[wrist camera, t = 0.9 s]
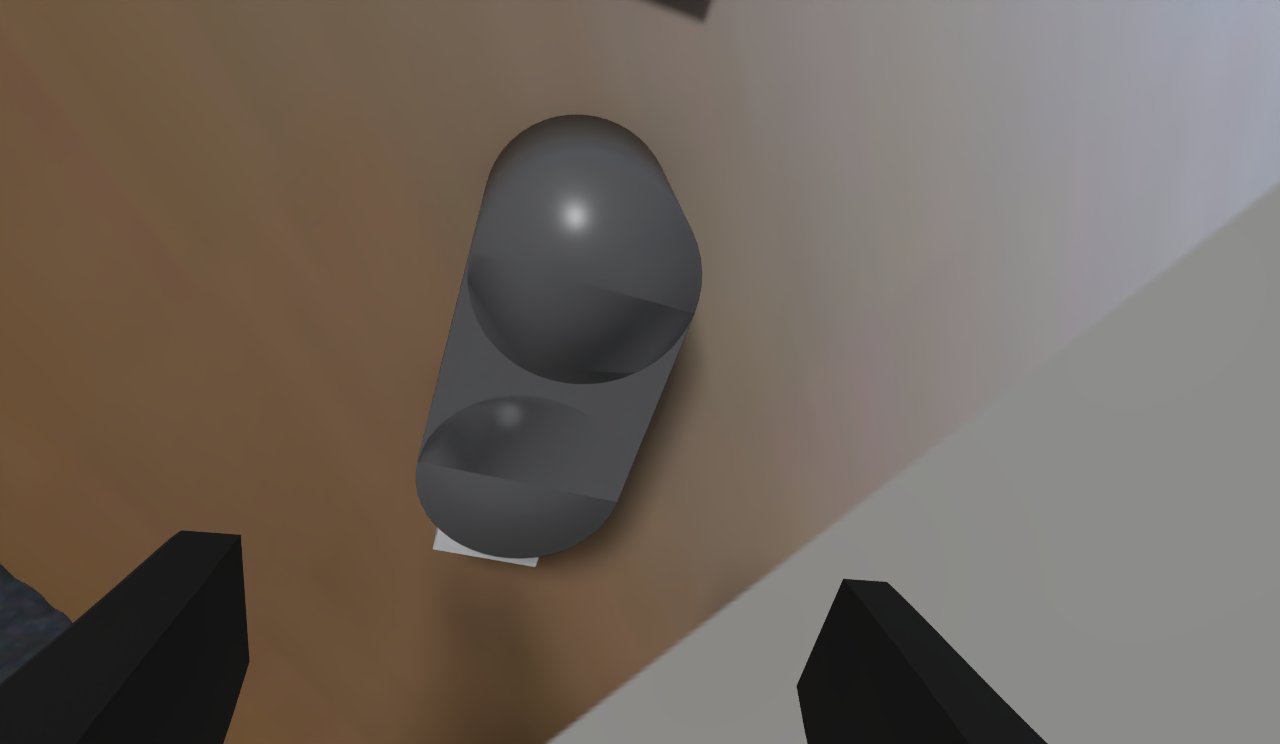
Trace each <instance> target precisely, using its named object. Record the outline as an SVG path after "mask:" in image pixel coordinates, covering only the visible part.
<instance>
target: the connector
mask: <svg viewBox="0 0 1280 744" xmlns="http://www.w3.org/2000/svg"><path fill="white" fill-rule="evenodd" d="M701 284H702V266H701V257H700V253H699V249H698V245H697V242H696V239H695V237H694V234H693V232H692V230H691V228H690V225H689V223H688V221H687V219H686V217H685V215H684V213H683V211H682V209H681V207H680V205H679V203H678V201H677V199H676V196H675V194H674V192H673V190H672V188H671V186H670V184H669V182H668V180H667V178H666V176H665V174H664V172H663V170H662V167H661V166H660V164H659V162H658V160H657V159H656V157H655V156H654V154H653V153H652V152H651V150H650V149H649V148H648V146H647V145H646V144H645V143H644V142H643V141H642V140H641V139H640V138H638V137H637V136H636V135H635V134H633V133H632V132H631V131H629V130H628V129H626V128H624V127H622V126H621V125H619V124H617V123H614V122H612V121H609V120H607V119H603V118H599V117H595V116H588V115H565V116H558V117H554V118H550V119H547V120H543V121H541V122H539V123H537V124H534V125H532V126H530V127H529V128H527V129H526V130H524V131H523V132H521V133H520V134H519V135H517V136H516V137H515V138H514V139H513V140H511V141H510V143H509V144H508V145H507V146H506V147H505V148H504V149H503V150H502V152H501V153H500V155H499V156H498V158H497V159H496V161H495V163H494V165H493V167H492V169H491V171H490V174H489V177H488V180H487V183H486V187H485V191H484V195H483V199H482V203H481V207H480V211H479V215H478V219H477V223H476V227H475V231H474V235H473V239H472V243H471V247H470V251H469V255H468V259H467V263H466V267H465V271H464V275H463V279H462V283H461V287H460V291H459V295H458V299H457V303H456V307H455V311H454V315H453V319H452V323H451V327H450V331H449V335H448V339H447V343H446V347H445V351H444V355H443V359H442V363H441V368H440V372H439V376H438V380H437V384H436V388H435V392H434V396H433V400H432V405H431V409H430V413H429V417H428V421H427V425H426V429H425V433H424V437H423V441H422V446H421V450H420V454H419V458H418V462H417V468H416V487H417V492H418V496H419V499H420V502H421V505H422V506H423V508H424V510H425V512H426V514H427V515H428V517H429V518H430V519H431V521H432V522H433V523H434V524H435V525H436V526H437V529H436V534H435V540H434V545H433V549H435V550H441V551H446V552H452V553H458V554H464V555H469V556H475V557H481V558H486V559H492V560H498V561H504V562H509V563H515V564H521V565H527V566H532V567H536V564H537V561H538V558H539V557H541V556H547V555H551V554H554V553H558V552H561V551H563V550H566V549H568V548H571V547H573V546H574V545H576V544H578V543H580V542H582V541H583V540H585V539H586V538H588V537H589V536H591V535H592V534H593V533H594V532H595V531H597V530H598V529H599V528H600V527H601V526H602V524H603V523H604V522H605V521H606V520H607V519H608V517H609V516H610V514H611V513H612V511H613V509H614V507H615V505H616V503H617V501H618V499H619V496H620V494H621V491H622V489H623V486H624V484H625V482H626V479H627V477H628V474H629V472H630V469H631V467H632V464H633V462H634V460H635V457H636V455H637V452H638V450H639V447H640V445H641V442H642V440H643V438H644V435H645V433H646V430H647V428H648V425H649V423H650V421H651V418H652V416H653V413H654V411H655V408H656V406H657V403H658V401H659V399H660V396H661V394H662V391H663V389H664V386H665V384H666V381H667V379H668V377H669V374H670V372H671V369H672V367H673V364H674V362H675V360H676V357H677V355H678V352H679V350H680V347H681V345H682V342H683V340H684V338H685V335H686V333H687V330H688V328H689V325H690V323H691V320H692V318H693V316H694V313H695V310H696V307H697V304H698V301H699V296H700V291H701Z"/></svg>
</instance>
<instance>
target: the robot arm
mask: <svg viewBox="0 0 1280 744" xmlns="http://www.w3.org/2000/svg"><path fill="white" fill-rule="evenodd" d="M248 664H249V649H248V634H247V620H246V605H245V590H244V576H243V561H242V547H241V535H235V534H221V533H208V532H194V531H180V532H178V533H177V534H176V535H174V536H173V537H171V538H170V539H169V540H168V541H167V542H165V543H164V544H163V545H162V546H161V547H160V548H159V549H157V550H156V551H155V552H154V553H153V554H152V555H151V556H149V557H148V558H147V559H146V560H145V561H144V562H143V563H142V564H140V565H139V566H138V567H137V568H136V569H135V570H134V571H132V572H131V573H130V574H129V575H128V576H127V577H126V578H125V579H123V580H122V581H121V582H120V583H119V584H118V585H117V586H115V587H114V588H113V589H112V590H111V591H110V592H109V593H107V594H106V595H105V596H104V597H103V598H102V599H101V600H99V601H98V602H97V603H96V604H95V605H94V606H92V607H91V608H90V609H89V610H88V611H87V612H85V613H84V614H83V615H82V616H81V617H80V618H78V619H77V620H76V621H75V622H74V623H73V624H72V625H70V626H69V627H68V628H67V629H66V630H65V631H63V632H62V633H61V634H60V635H59V636H57V637H56V638H55V639H54V640H53V641H51V642H50V643H49V644H48V645H46V646H45V647H44V648H43V649H42V650H40V651H39V652H38V653H37V654H36V655H34V656H33V657H32V658H31V659H30V660H28V661H27V662H26V663H25V664H24V665H22V666H21V667H20V668H19V669H17V670H16V671H15V672H14V673H13V674H11V675H10V676H9V677H8V678H7V679H5V680H4V681H3V682H2V683H1V684H0V744H223V743H224V740H225V737H226V734H227V731H228V728H229V725H230V722H231V719H232V716H233V713H234V709H235V706H236V703H237V700H238V697H239V693H240V690H241V687H242V684H243V681H244V677H245V674H246V671H247V668H248ZM797 690H798V696H799V702H800V707H801V712H802V718H803V723H804V729H805V734H806V738H807V743H808V744H1047V743H1046V742H1045V741H1044V740H1043V739H1042V738H1041V737H1040V736H1039V735H1038V734H1037V733H1036V732H1035V731H1034V730H1033V729H1032V728H1031V727H1030V726H1029V725H1028V724H1027V723H1026V722H1025V721H1024V720H1023V719H1022V718H1021V717H1020V716H1019V715H1018V714H1017V713H1016V712H1015V711H1014V710H1013V709H1012V708H1011V707H1010V706H1009V705H1008V704H1007V703H1006V702H1005V701H1004V700H1003V699H1002V698H1001V697H1000V696H999V695H998V694H997V693H996V692H995V691H994V690H993V689H992V688H991V687H990V686H989V685H988V684H987V683H986V682H985V681H984V680H983V679H982V678H981V677H980V676H979V675H978V674H977V672H976V671H975V670H974V669H973V668H972V667H970V665H969V664H968V663H967V662H966V661H965V660H964V659H963V658H962V657H961V656H960V655H959V654H958V653H957V652H956V651H955V650H954V649H953V648H952V647H951V646H950V645H949V644H948V643H947V642H946V641H945V640H944V639H943V638H942V636H940V634H939V633H938V632H937V631H936V630H935V629H934V628H933V627H932V626H931V625H930V624H929V623H928V622H927V621H926V620H925V619H924V618H923V617H922V616H921V615H920V614H919V613H918V612H917V611H916V610H915V609H914V608H913V607H912V606H911V605H910V604H909V603H908V602H907V601H906V600H905V599H904V598H903V597H902V596H901V595H900V594H899V593H898V592H897V591H896V590H895V589H894V588H893V587H892V586H891V585H890V584H888V583H887V582H879V581H865V580H850V579H843V581H842V583H841V585H840V588H839V590H838V592H837V595H836V597H835V599H834V601H833V604H832V606H831V608H830V611H829V613H828V615H827V618H826V620H825V622H824V624H823V627H822V629H821V631H820V634H819V636H818V638H817V640H816V643H815V645H814V647H813V650H812V652H811V654H810V657H809V659H808V661H807V663H806V666H805V668H804V670H803V673H802V675H801V677H800V680H799V682H798V684H797Z"/></svg>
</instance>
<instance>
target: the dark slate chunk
mask: <svg viewBox="0 0 1280 744" xmlns="http://www.w3.org/2000/svg"><path fill="white" fill-rule="evenodd" d="M72 624H73V623H72V622H71V620H70V619H69V618H68V617H67V616H66V615H65V614H64V613H62V612H60V611H58V610H56V609H55V608H53V607H52V606H51V605H50V604H49V603H48V602H47V601H46V600H45V598H44V597H43V596H42V595H41V594H40V593H38V592H37V591H36V590H34V589H33V588H32V587H30V586H28V585H27V584H25V583H23V582H21V581H19V580H17V579H16V578H14V577H13V576H12V575H11V574H10V573H9V572H8V571H7V570H6V569H5V568H4V567H3V566H2V565H1V564H0V684H1V683H2V682H3V681H4V680H5V679H7V678H8V677H9V676H10V675H11V674H13V673H14V672H15V671H16V670H17V669H19V668H20V667H21V666H22V665H24V664H25V663H26V662H27V661H28V660H30V659H31V658H32V657H33V656H34V655H36V654H37V653H38V652H39V651H40V650H42V649H43V648H44V647H45V646H46V645H48V644H49V643H50V642H51V641H53V640H54V639H55V638H56V637H57V636H59V635H60V634H61V633H62V632H63V631H65V630H66V629H67V628H68V627H69V626H70V625H72Z"/></svg>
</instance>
